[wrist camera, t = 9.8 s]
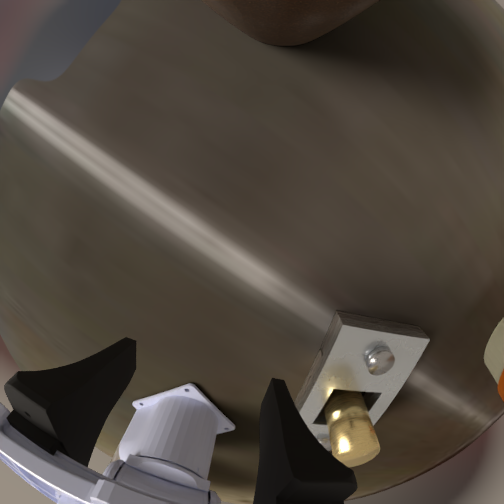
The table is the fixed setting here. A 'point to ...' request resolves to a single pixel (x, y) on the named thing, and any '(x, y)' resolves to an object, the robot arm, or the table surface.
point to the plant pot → (287, 17)
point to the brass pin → (350, 428)
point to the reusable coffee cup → (496, 356)
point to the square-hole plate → (359, 366)
